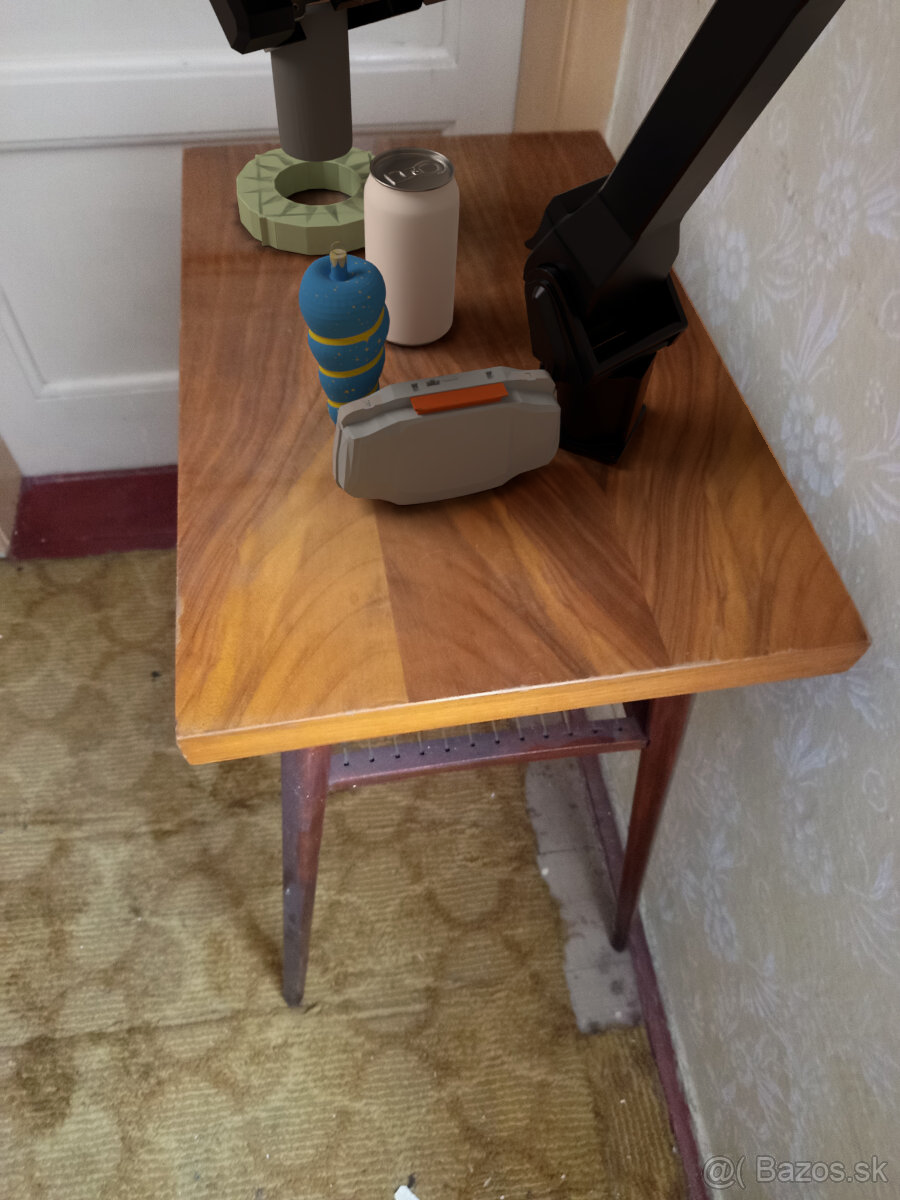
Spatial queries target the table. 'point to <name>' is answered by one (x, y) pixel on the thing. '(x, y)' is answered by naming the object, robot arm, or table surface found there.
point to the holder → (298, 223)
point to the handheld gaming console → (446, 435)
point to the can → (413, 240)
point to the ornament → (345, 325)
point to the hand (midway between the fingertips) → (299, 35)
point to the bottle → (315, 88)
